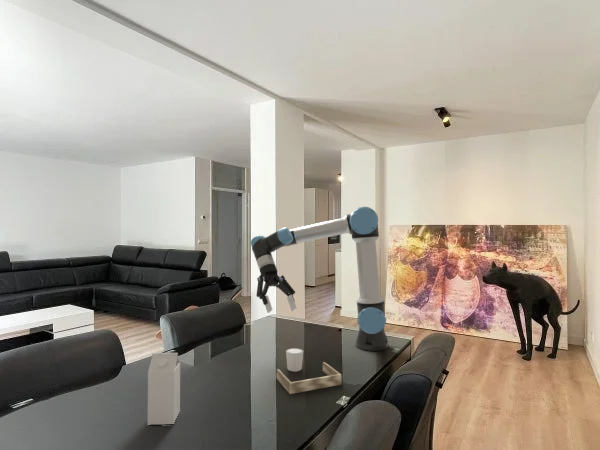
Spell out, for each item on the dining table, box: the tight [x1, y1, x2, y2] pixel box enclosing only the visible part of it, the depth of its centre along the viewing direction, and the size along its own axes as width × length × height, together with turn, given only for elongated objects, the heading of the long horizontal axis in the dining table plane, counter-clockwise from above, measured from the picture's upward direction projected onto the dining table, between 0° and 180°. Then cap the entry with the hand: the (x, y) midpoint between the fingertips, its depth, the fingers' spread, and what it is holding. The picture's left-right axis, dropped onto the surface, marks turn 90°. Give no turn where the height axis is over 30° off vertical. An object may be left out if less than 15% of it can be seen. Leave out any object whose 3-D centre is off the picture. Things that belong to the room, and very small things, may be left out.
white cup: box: [285, 347, 304, 372], centre depth 143 cm, size 7×7×7 cm
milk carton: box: [147, 352, 181, 426], centre depth 104 cm, size 7×7×19 cm
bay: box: [276, 361, 342, 395], centre depth 131 cm, size 20×13×4 cm
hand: (282, 310), depth 153 cm, fingers open, 13 cm apart
